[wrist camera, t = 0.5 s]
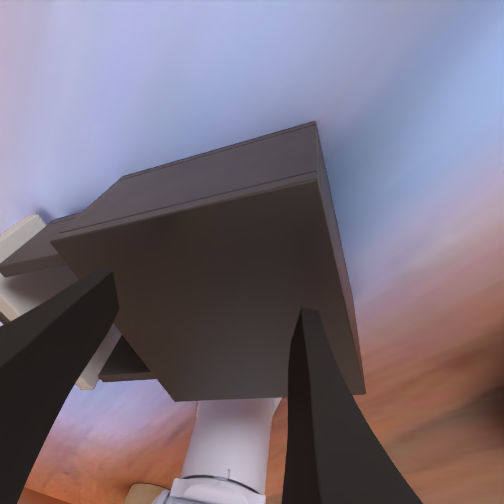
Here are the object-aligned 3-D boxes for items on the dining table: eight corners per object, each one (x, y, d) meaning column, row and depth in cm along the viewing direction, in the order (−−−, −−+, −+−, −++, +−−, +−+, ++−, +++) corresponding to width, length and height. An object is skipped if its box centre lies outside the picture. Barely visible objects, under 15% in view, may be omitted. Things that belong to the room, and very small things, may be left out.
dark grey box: (203, 319, 28) (174, 402, 22) (122, 176, 21) (48, 241, 15) (353, 301, 24) (366, 395, 19) (315, 120, 17) (316, 178, 11)
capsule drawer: (76, 336, 31) (35, 393, 26) (-21, 229, 25) (-97, 279, 20) (233, 318, 26) (217, 383, 22) (164, 178, 20) (120, 229, 15)
